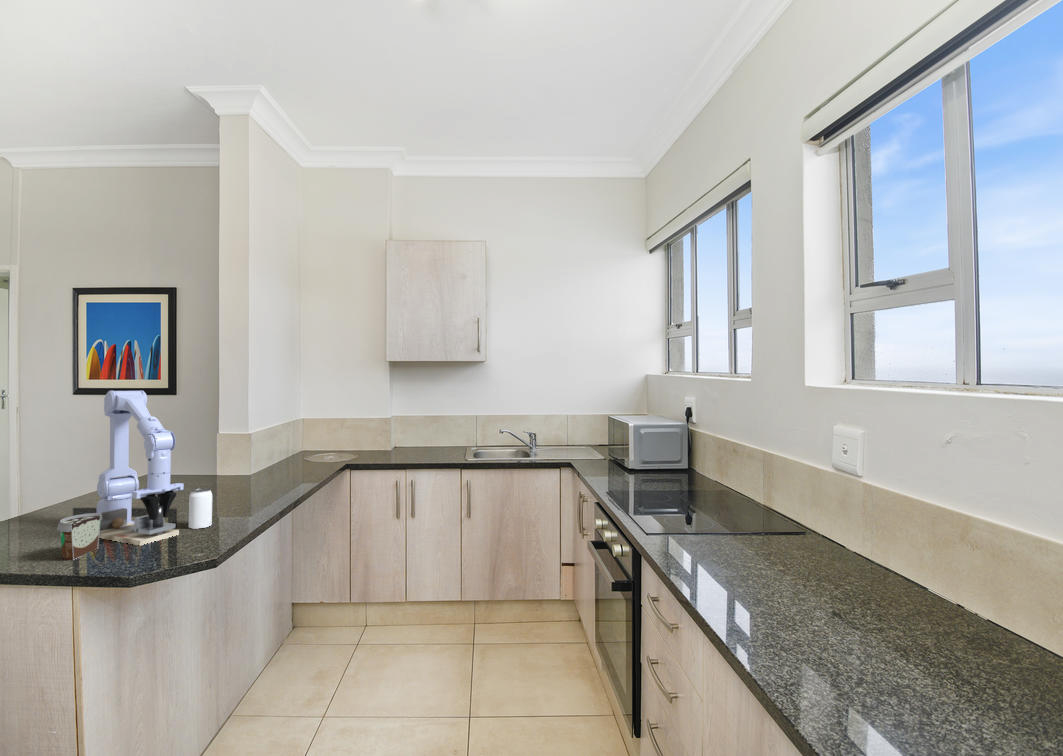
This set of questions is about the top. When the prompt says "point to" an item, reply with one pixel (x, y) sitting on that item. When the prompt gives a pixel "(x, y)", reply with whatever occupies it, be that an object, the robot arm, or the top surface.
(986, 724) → the top surface
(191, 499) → the can
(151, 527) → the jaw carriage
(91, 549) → the food container
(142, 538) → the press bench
